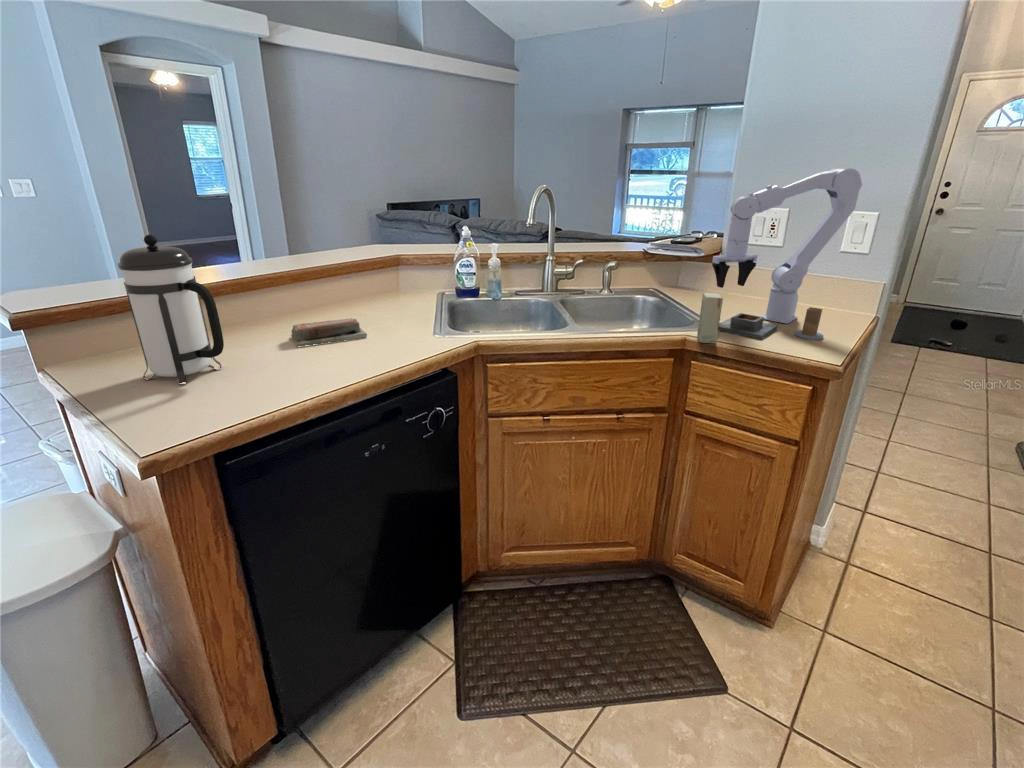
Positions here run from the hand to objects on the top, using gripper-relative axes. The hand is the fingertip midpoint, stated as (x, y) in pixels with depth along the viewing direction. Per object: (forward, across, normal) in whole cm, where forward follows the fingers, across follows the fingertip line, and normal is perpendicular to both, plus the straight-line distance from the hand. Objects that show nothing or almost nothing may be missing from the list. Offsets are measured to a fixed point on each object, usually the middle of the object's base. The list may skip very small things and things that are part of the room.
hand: (730, 286), depth 161 cm
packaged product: (+10, -117, +14) cm, 118 cm away
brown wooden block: (+9, +8, -24) cm, 27 cm away
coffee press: (+10, -147, -4) cm, 147 cm away
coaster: (+9, +8, -24) cm, 27 cm away
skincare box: (+10, -21, -18) cm, 29 cm away
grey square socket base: (+9, -4, -14) cm, 17 cm away
